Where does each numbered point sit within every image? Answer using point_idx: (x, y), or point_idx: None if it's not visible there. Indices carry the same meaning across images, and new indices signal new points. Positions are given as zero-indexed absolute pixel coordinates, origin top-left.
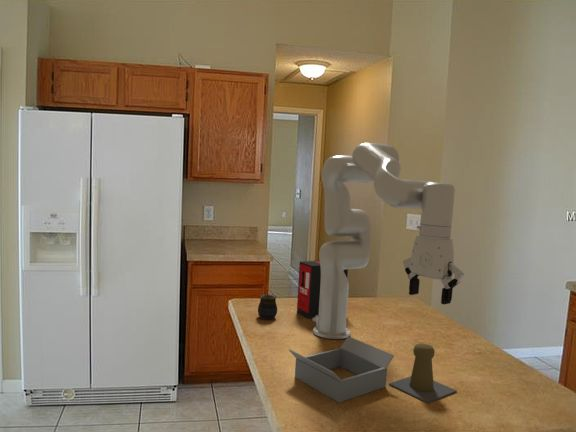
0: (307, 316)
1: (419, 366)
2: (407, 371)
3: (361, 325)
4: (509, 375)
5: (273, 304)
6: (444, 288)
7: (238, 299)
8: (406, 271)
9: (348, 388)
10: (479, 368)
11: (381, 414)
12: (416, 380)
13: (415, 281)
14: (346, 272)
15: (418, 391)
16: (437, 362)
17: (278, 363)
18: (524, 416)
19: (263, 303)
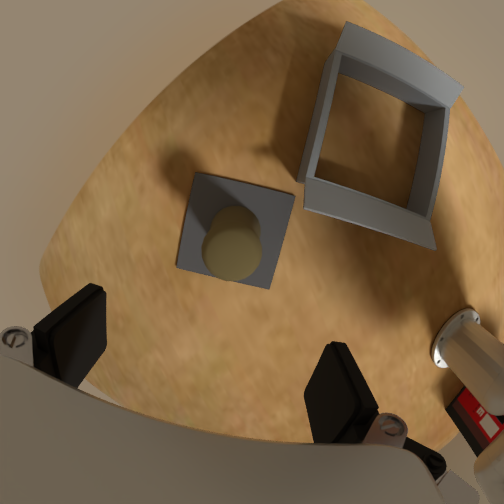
0: None
1: (233, 219)
2: (294, 290)
3: (420, 401)
4: (153, 389)
5: None
6: (35, 331)
7: None
8: (430, 453)
9: (326, 73)
10: (197, 389)
11: (244, 71)
12: (237, 210)
13: (336, 426)
14: (476, 451)
15: (230, 203)
16: (264, 370)
17: (470, 149)
18: (74, 255)
19: None
